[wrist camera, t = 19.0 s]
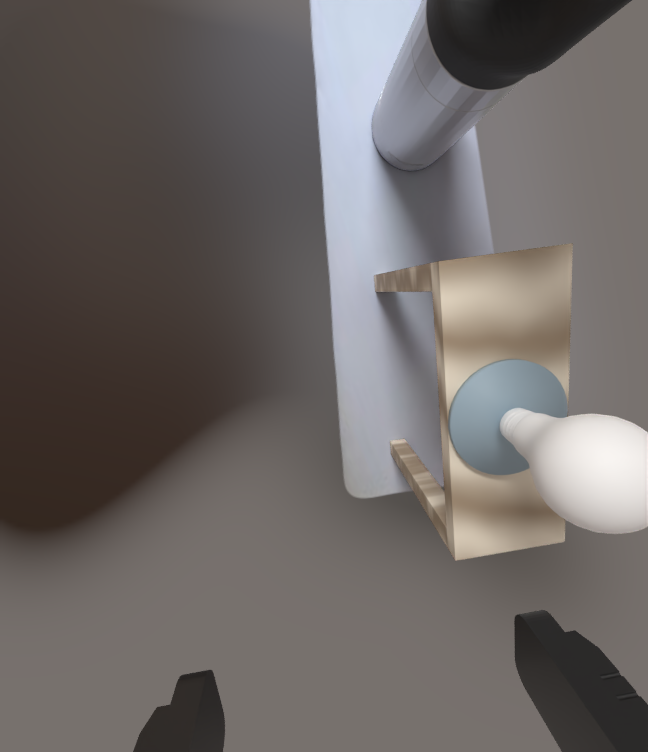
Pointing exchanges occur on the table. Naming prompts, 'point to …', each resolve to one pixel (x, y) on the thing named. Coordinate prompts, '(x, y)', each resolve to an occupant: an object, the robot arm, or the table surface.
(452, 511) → the stool
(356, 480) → the table surface
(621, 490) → the lightbulb
